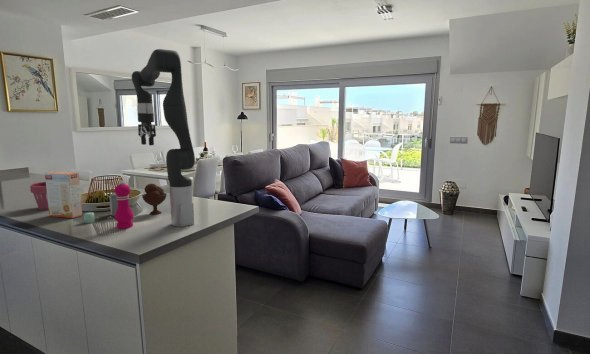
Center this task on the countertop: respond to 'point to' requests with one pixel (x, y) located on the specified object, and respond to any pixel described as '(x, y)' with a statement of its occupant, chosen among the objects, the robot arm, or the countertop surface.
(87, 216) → the mint green cube
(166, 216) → the countertop surface
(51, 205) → the cracker box
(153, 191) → the ice cream bowl
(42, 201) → the plant pot
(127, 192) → the pepper mill
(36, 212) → the countertop surface
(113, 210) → the charcoal cup
